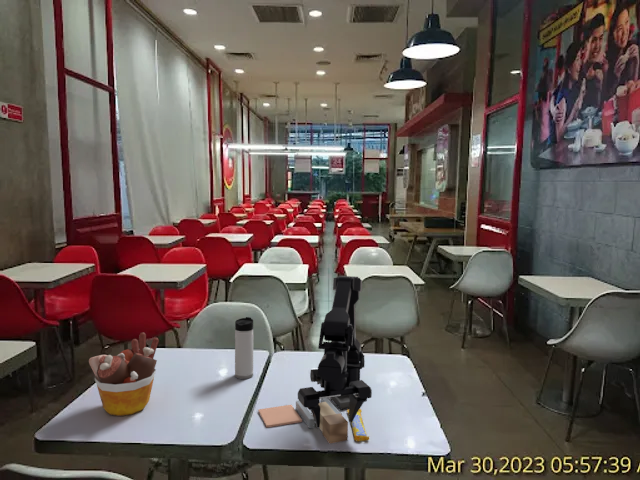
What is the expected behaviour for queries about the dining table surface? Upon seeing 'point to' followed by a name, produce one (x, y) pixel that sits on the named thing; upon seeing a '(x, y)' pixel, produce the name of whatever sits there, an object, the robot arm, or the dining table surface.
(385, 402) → the dining table surface
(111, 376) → the bucket of meat
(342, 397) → the tray
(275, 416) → the tile
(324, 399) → the channel
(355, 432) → the candy bar
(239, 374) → the travel mug
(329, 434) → the block
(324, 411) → the tan wooden bar
